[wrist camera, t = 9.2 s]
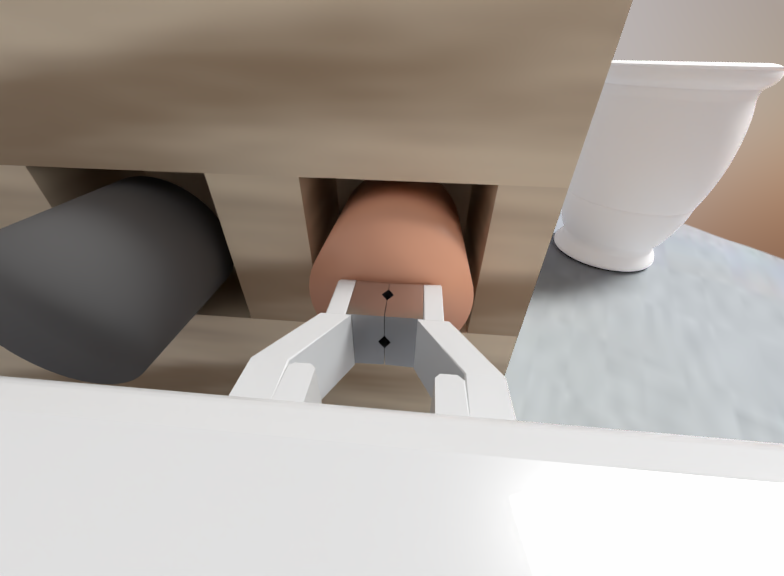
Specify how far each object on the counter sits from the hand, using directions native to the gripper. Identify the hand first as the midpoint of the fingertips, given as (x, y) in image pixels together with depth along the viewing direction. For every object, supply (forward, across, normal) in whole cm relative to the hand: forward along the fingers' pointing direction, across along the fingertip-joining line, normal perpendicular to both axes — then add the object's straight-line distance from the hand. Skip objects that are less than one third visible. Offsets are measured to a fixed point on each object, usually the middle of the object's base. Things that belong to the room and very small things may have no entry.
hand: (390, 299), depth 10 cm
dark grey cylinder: (0, -9, -3) cm, 9 cm away
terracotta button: (+3, 0, -2) cm, 4 cm away
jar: (+21, +19, -9) cm, 30 cm away
